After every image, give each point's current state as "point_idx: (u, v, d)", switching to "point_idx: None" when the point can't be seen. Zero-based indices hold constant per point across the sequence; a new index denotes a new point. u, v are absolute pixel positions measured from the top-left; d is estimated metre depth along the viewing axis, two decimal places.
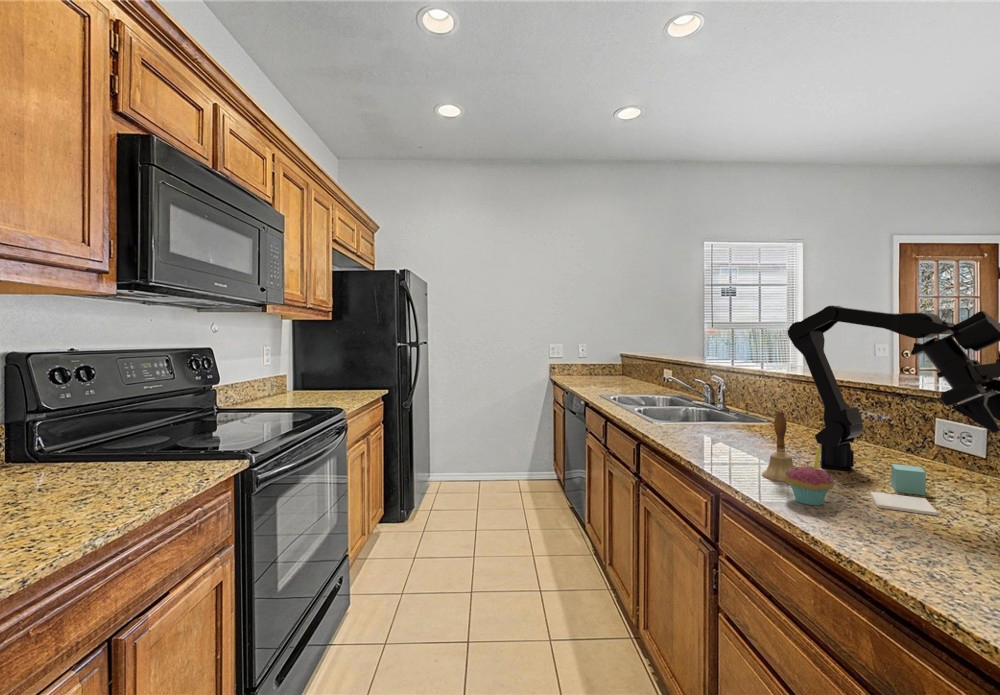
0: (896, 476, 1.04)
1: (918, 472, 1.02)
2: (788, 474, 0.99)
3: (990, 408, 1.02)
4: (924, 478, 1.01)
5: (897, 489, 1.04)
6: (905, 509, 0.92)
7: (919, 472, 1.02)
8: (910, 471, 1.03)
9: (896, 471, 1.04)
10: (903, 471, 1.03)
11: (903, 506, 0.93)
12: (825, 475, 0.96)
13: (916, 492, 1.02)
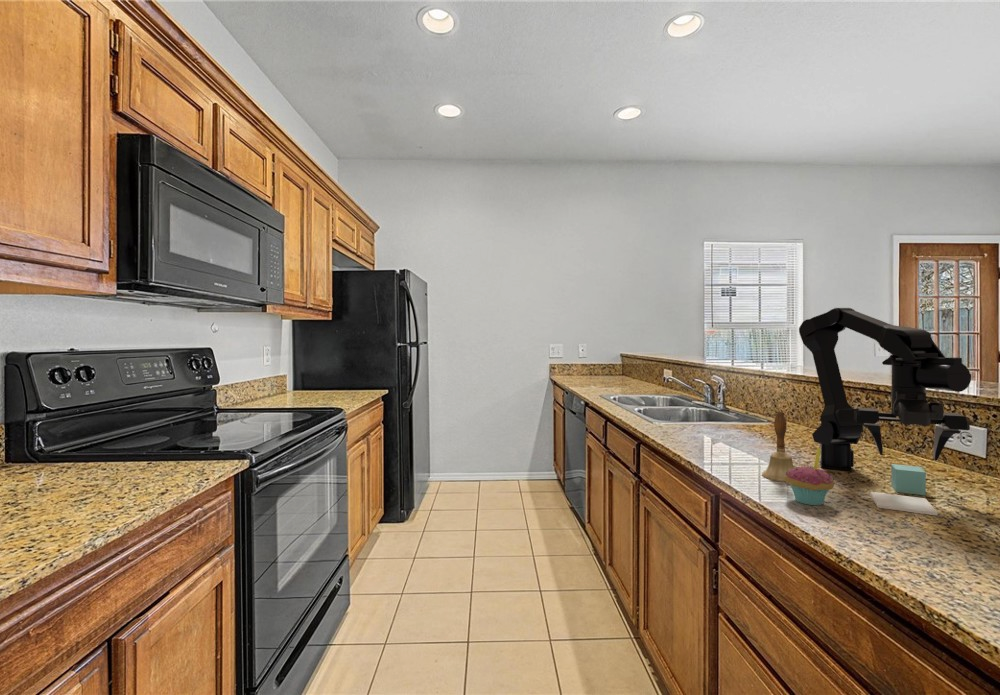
0: (896, 476, 1.04)
1: (918, 472, 1.02)
2: (788, 474, 0.99)
3: (935, 437, 1.03)
4: (924, 478, 1.01)
5: (897, 489, 1.04)
6: (905, 509, 0.92)
7: (919, 472, 1.02)
8: (910, 471, 1.03)
9: (896, 471, 1.04)
10: (903, 471, 1.03)
11: (903, 506, 0.93)
12: (825, 475, 0.96)
13: (916, 492, 1.02)
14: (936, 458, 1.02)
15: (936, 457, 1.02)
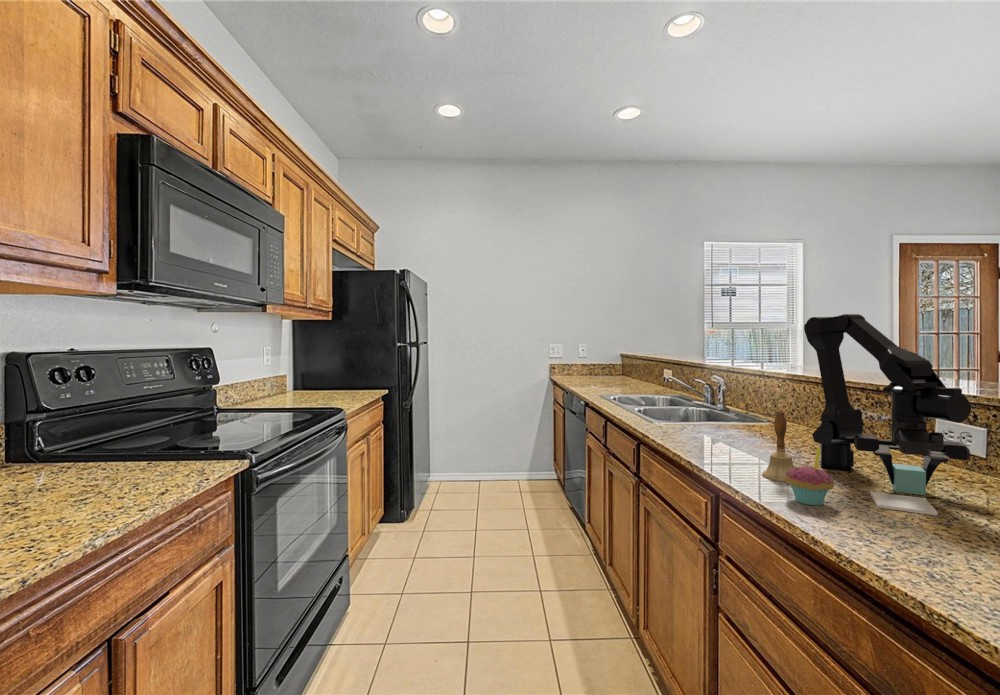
0: (896, 476, 1.04)
1: (918, 472, 1.02)
2: (788, 474, 0.99)
3: (924, 464, 1.04)
4: (924, 478, 1.01)
5: (897, 489, 1.04)
6: (905, 509, 0.92)
7: (919, 472, 1.02)
8: (910, 471, 1.03)
9: (896, 471, 1.04)
10: (903, 471, 1.03)
11: (903, 506, 0.93)
12: (825, 475, 0.96)
13: (916, 492, 1.02)
14: None
15: None
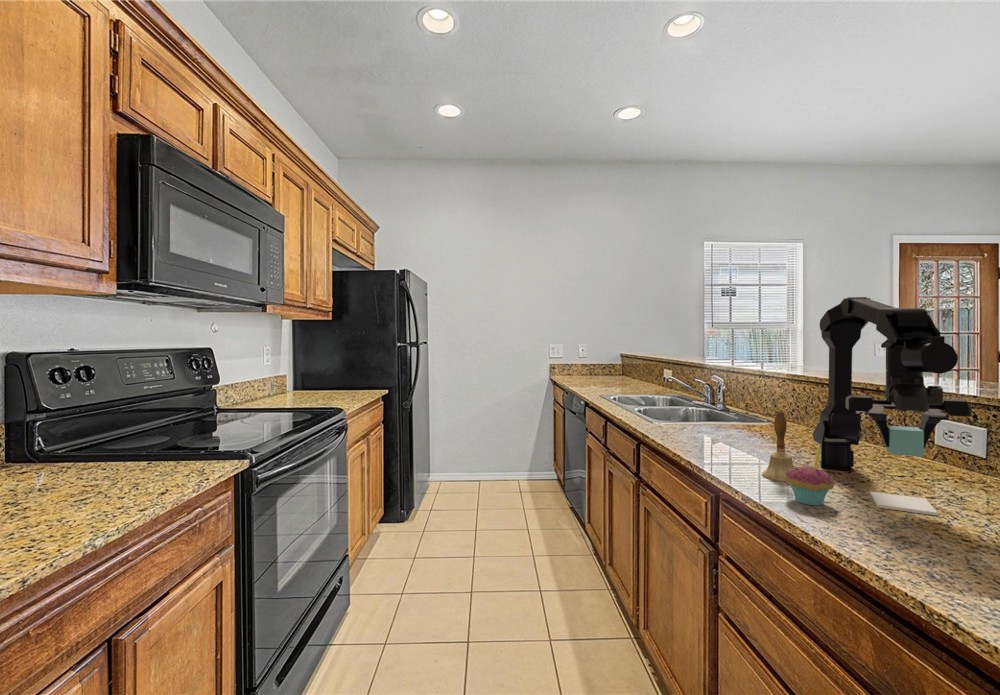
0: (891, 437, 0.95)
1: (915, 431, 0.93)
2: (788, 474, 0.99)
3: (921, 424, 0.96)
4: (922, 438, 0.93)
5: (893, 451, 0.95)
6: (905, 509, 0.92)
7: (916, 431, 0.93)
8: (907, 431, 0.94)
9: (891, 431, 0.95)
10: (899, 431, 0.94)
11: (903, 506, 0.93)
12: (825, 475, 0.96)
13: (913, 453, 0.93)
14: None
15: None
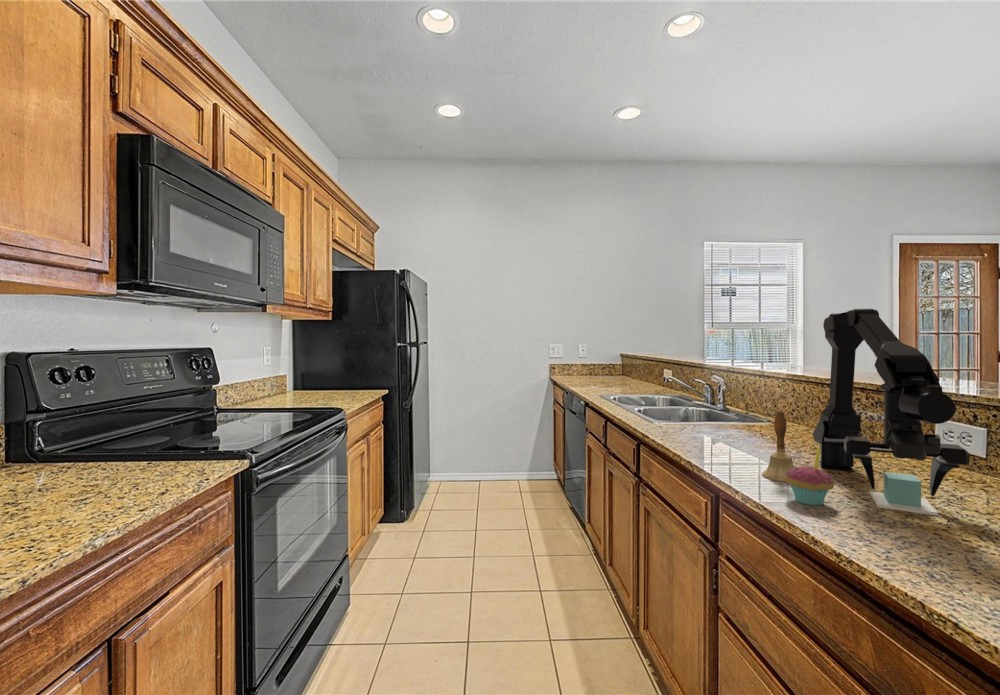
0: (889, 486, 0.95)
1: (913, 481, 0.93)
2: (788, 474, 0.99)
3: (932, 470, 0.95)
4: (919, 488, 0.93)
5: (890, 500, 0.95)
6: (905, 509, 0.92)
7: (914, 481, 0.93)
8: (904, 480, 0.94)
9: (889, 480, 0.95)
10: (896, 480, 0.95)
11: (903, 506, 0.93)
12: (825, 475, 0.96)
13: (910, 503, 0.93)
14: (933, 494, 0.93)
15: (933, 493, 0.93)
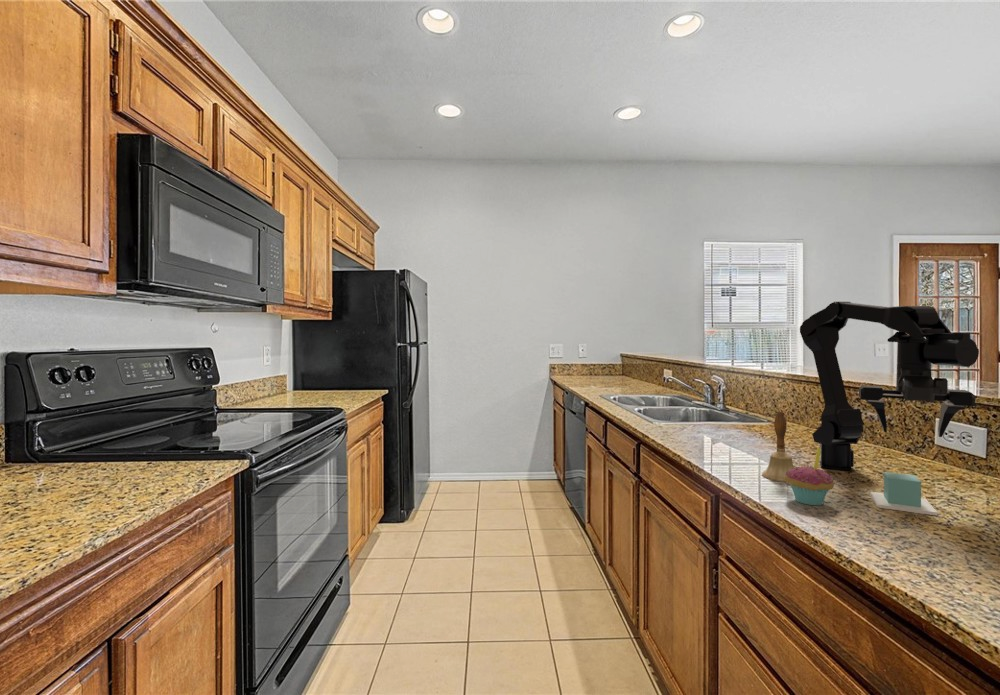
0: (889, 486, 0.95)
1: (913, 481, 0.93)
2: (788, 474, 0.99)
3: (940, 414, 1.03)
4: (919, 488, 0.93)
5: (890, 500, 0.95)
6: (905, 509, 0.92)
7: (914, 481, 0.93)
8: (904, 480, 0.94)
9: (889, 480, 0.95)
10: (896, 480, 0.95)
11: (903, 506, 0.93)
12: (825, 475, 0.96)
13: (910, 503, 0.93)
14: (941, 435, 1.02)
15: (941, 434, 1.01)
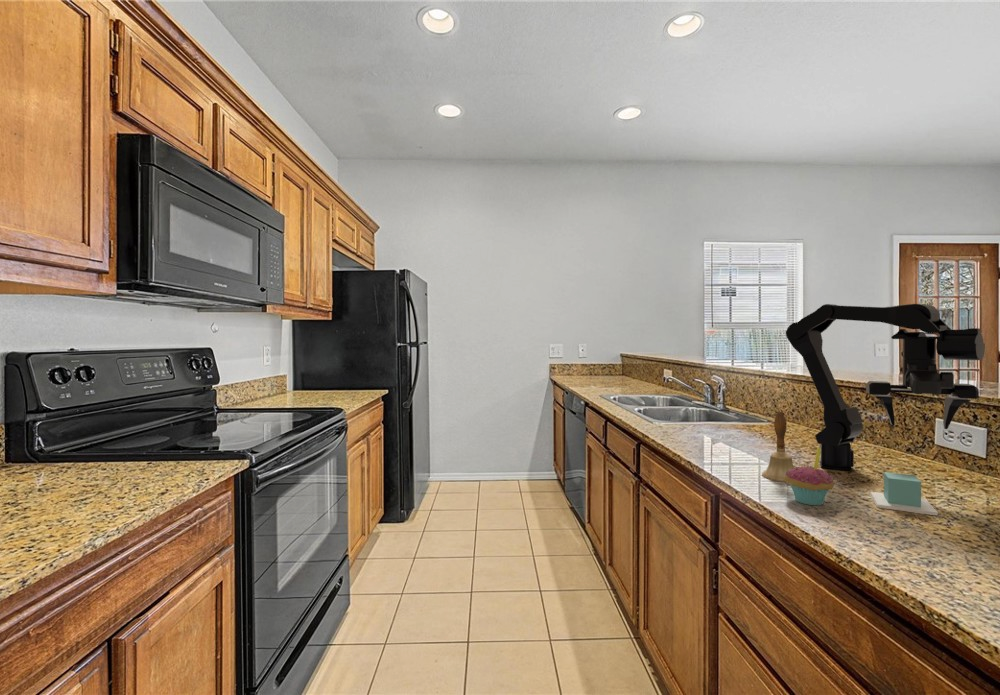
0: (889, 486, 0.95)
1: (913, 481, 0.93)
2: (788, 474, 0.99)
3: (945, 407, 1.08)
4: (919, 488, 0.93)
5: (890, 500, 0.95)
6: (905, 509, 0.92)
7: (914, 481, 0.93)
8: (904, 480, 0.94)
9: (889, 480, 0.95)
10: (896, 480, 0.95)
11: (903, 506, 0.93)
12: (825, 475, 0.96)
13: (910, 503, 0.93)
14: (946, 427, 1.06)
15: (946, 426, 1.06)
